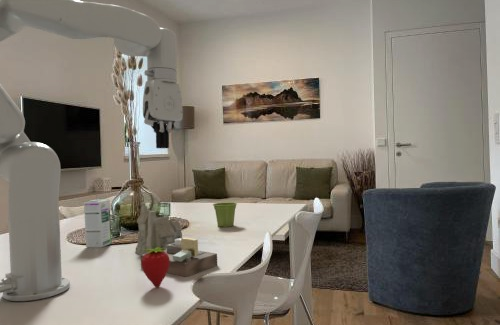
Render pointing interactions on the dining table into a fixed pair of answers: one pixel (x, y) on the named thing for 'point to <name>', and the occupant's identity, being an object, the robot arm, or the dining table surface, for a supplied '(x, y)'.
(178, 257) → the sage rocker
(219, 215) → the plant pot
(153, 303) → the dining table surface
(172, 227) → the grey irregular lump
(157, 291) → the dining table surface
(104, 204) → the syrup box
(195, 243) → the beige flat square block
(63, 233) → the dining table surface
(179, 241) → the grey push button
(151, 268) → the strawberry
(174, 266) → the switch panel
